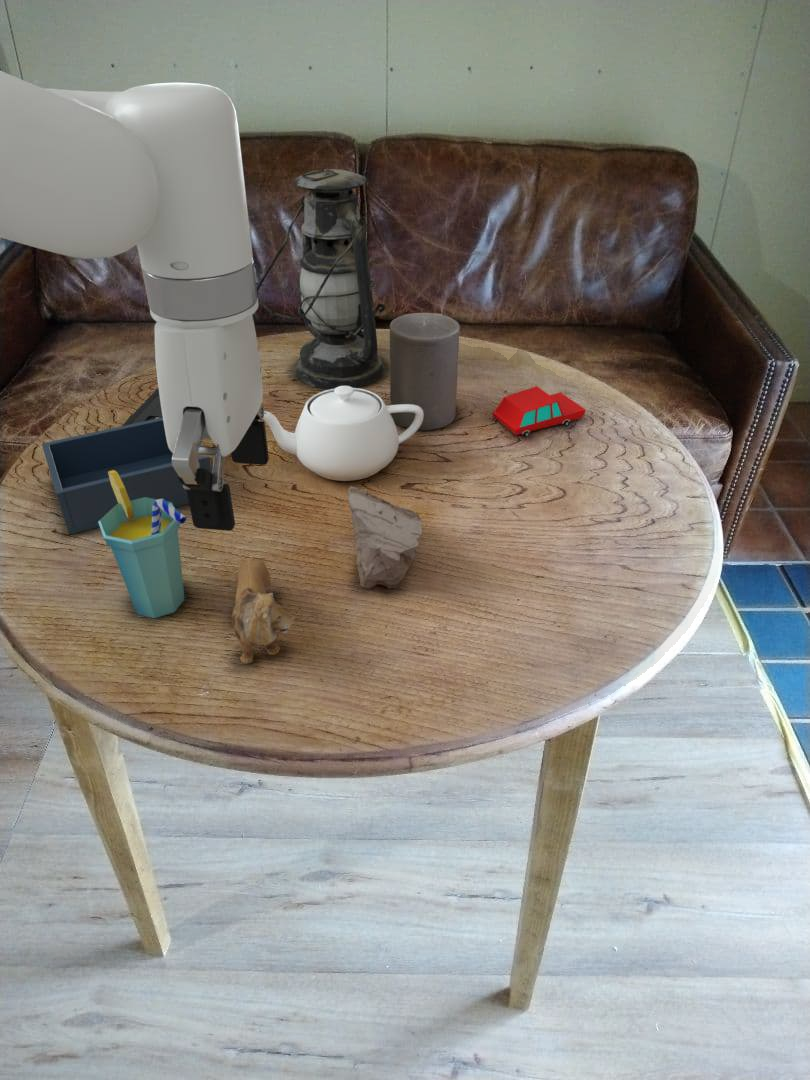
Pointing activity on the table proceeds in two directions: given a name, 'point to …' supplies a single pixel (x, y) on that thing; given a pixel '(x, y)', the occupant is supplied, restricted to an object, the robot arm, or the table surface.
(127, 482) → the dark blue storage bin
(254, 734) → the table surface
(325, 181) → the lantern
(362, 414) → the teapot
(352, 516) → the stone
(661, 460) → the table surface
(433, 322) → the pillar candle
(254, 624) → the lion figurine
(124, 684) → the table surface
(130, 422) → the vhs tape
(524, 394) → the toy car
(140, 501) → the cup
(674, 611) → the table surface
